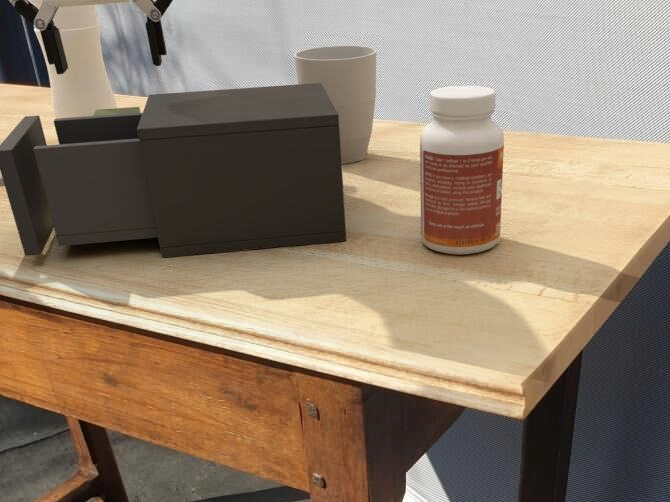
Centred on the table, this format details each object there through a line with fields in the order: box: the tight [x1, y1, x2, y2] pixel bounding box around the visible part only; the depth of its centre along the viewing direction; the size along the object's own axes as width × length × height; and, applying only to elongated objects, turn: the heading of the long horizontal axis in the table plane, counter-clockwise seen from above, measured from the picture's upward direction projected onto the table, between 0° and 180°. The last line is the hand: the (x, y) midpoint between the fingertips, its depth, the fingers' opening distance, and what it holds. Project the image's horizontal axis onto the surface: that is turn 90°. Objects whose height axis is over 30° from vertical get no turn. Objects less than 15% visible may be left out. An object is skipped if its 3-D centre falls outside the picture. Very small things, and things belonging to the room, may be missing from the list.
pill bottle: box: [419, 85, 505, 256], centre depth 62 cm, size 6×6×11 cm
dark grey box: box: [137, 83, 347, 258], centre depth 68 cm, size 15×13×10 cm
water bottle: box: [28, 0, 118, 119], centre depth 93 cm, size 7×7×25 cm
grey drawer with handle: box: [0, 112, 158, 257], centre depth 67 cm, size 19×11×8 cm, turn 99°
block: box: [93, 106, 142, 116], centre depth 89 cm, size 5×5×5 cm
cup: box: [293, 45, 377, 165], centre depth 85 cm, size 8×8×10 cm
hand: (110, 67), depth 86 cm, fingers open, 9 cm apart
